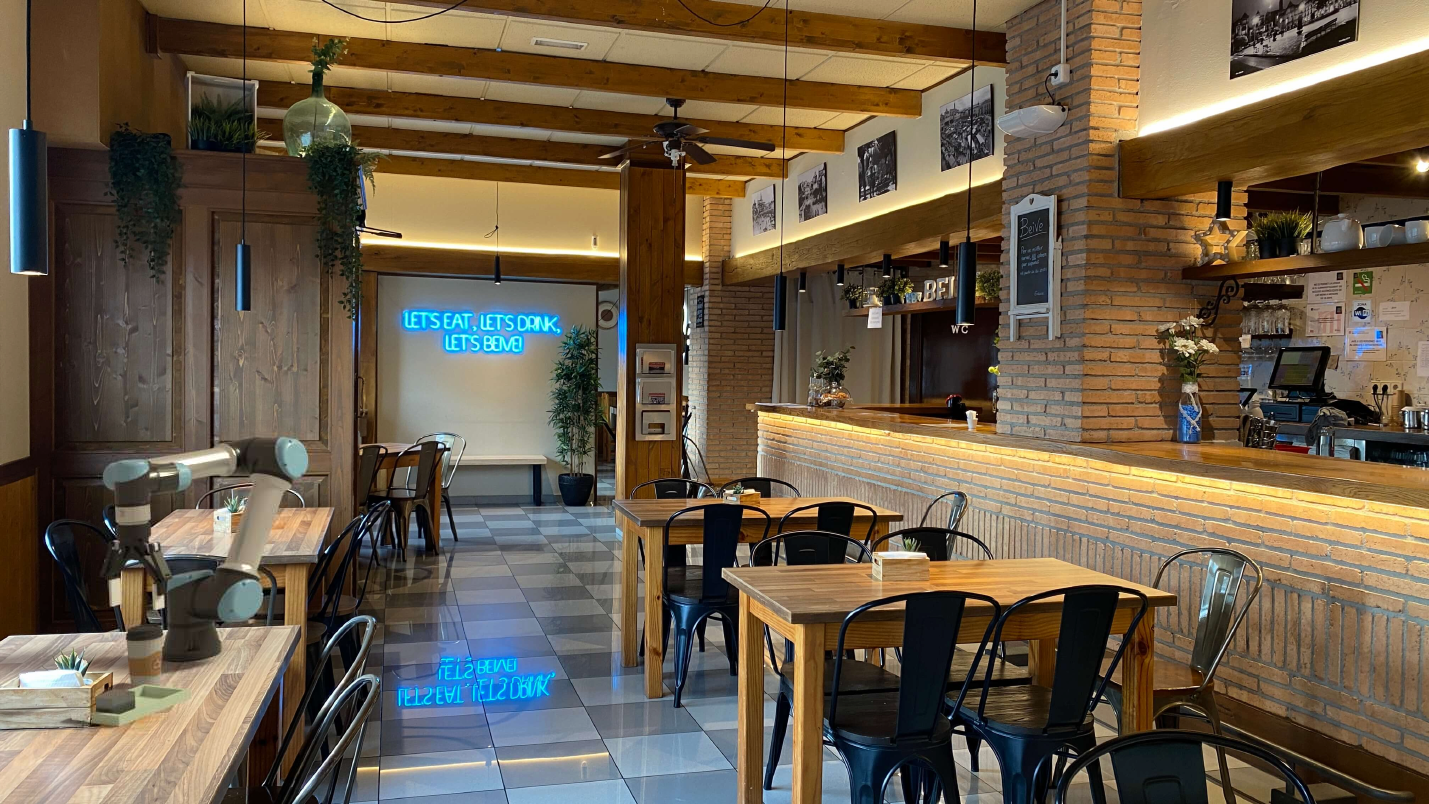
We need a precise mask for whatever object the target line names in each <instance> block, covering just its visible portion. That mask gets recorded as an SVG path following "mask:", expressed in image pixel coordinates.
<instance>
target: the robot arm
mask: <svg viewBox="0 0 1429 804" xmlns="http://www.w3.org/2000/svg"><path fill="white" fill-rule="evenodd" d="M308 455H309V454H308V452H307V450H306V447H305V446H304V444H303V443H302V441H299V439H295V438H293V437H292V438H290V437H286V436H285V437H284V436H283V437H265V436H264V437H262V436H254V437H253V436H252V437H251V436H250V437H245V438H242V439H237V440H236V439H235V440H232V441H228V442H223V443H222V442H221V443H218V444H216V445H214V447H213V448H207V449H202V450H196V451H191V452H183V453H176V454H171V455H165V456H159V457H153V458H146V459H141V458H140V459H124V460H118V461H117V462H116V461H115V462H112V463H109V464H108V465H107V466H106V467H105V469H104V470H103V474H102V479H103V481H102V482H103V484H104V485H105V487H107V489H109V490H111V491H113V492H114V509H115V522H116V523H117V524H116V526H115V533H116V534H115V535H116V536H115V537H116V540H110V541H109V542H108V547H107V548H108V550H107V552H106V555H105V558H104V560H103V561H104V562H103V564H102V567H101V570H100V572H99V577H100V578H105V580H107V591H108V593H109V595H108V596H109V607H116V606H118V605H119V606H120V605H122V587H121V586H122V585H121V583H122V582H121V577H120V574H121V572H122V571H123V569H124V567H125V566H126V564H127V562H128V561H130V560H132V561H138V562H139V563H140V564H142V566H143V567H144V568H145V570H146V571H147V573H148V574H149V576H150V577H151V579H152V580H153V583H151V587H152V588H151V590H152V591H151V592H152V594H151V595H152V610H153V611H158V610H161V609H164V608H165V595H166V607H167V608H166V609H167V610H166V611H167V631H166V635H165V638H164V642H163V645H162V660H164V661H168V662H188V661H189V662H190V661H197V660H203V659H207V658H211V657H214V656H217V655H219V654H220V653H222V649H223V648H222V647H223V645H222V641H221V639H220V637H219V634H218V630H217V628H216V625H215V621H219V622H220V621H221V622H226V623H240V622H241V623H242V622H245V621H247V620H249V619H250V618H252V617H253V616H255V615H256V613H258V611H259V609H260V607H261V606H262V603H263V598H264V593H263V587H262V585H261V583H260V580H261V576H260V575H259V573H258V568H259V566H260V563H261V560H262V557H263V553H264V550H265V548H266V545H267V542H268V539H269V536H270V534H271V530H272V527H273V525H274V521H275V518H276V516H277V513H278V510H279V506H280V504H281V501H282V498H283V495H284V492H286V491H288V490H290V489H291V488H292V487H293V483H294V481H295V479H296V480H297V479H299V478H301V477H302V476H304V475H305V473H306V472H307V470H308V467H309V456H308ZM216 475H219V476H220V477H229V476H244V477H245V476H246V477H247V476H248V477H249V478H250V480H251V481H252V487H251V489H250V491H249V494H248V498H247V500H246V502H245V505H244V508H243V511H242V512H241V513H242V514H241V517H240V519H239V522H238V525H237V527H236V531H235V534H234V537H233V539H232V540H231V545H230V548H229V549H228V553H227V556H226V559H225V560H224V563H222V564H221V565H218V566H217V567H216V569H215V572H214V571H213V570H212V569H201V570H193V571H188V572H184V573H179V574H175V575H172V572H171V570H170V568H169V565H168V564H167V561H166V559H165V556H164V554H163V552H162V547H161V543H160V542H159V541H156V542H152V543H151V542H150V541H149V539H150V537H151V536H152V523H151V522H150V520H151V518H152V517H151V497H152V496H155V495H160V494H161V495H162V494H168V493H178V492H180V491H183V490H186V489H188V487H189V486H190V485H191V483H192V480H195V479H199V478H205V477H206V478H207V477H210V476H216ZM166 582H167V583H166ZM166 585H167V587H166Z"/></svg>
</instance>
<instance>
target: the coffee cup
mask: <svg viewBox="0 0 1429 804" xmlns="http://www.w3.org/2000/svg"><path fill="white" fill-rule="evenodd" d="M163 631H164V630H163V628H162V625H160V624H157V623H156V624H155V623H149V624H139V625H134V626H131V627H129V628H128V629H127V632H126V634H125V640H126V648H127V649H126V650H127V661H128V662H127V663H128V671H129V677H130V678H129V680H130V686H131V687H132V688H135V687H138V686H141V685H144V684H147V685H156V686H160V683H161V675H162V673H161V672H162V663H163V661H162V660H163V659H162V647H163V636H164V632H163Z"/></svg>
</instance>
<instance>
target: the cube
mask: <svg viewBox="0 0 1429 804" xmlns="http://www.w3.org/2000/svg"><path fill="white" fill-rule="evenodd" d="M127 690H128V689H127ZM127 690H126V689H117V688H114V689H111V690H108V691H106V692H103V693H100V694H97V695H98V696H97V697H95V702H96V712H102V713H110V714H118V715H120V714H122V713H125V712H128V711H130V710H133V709H135V691H127Z"/></svg>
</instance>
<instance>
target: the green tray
mask: <svg viewBox="0 0 1429 804" xmlns="http://www.w3.org/2000/svg"><path fill="white" fill-rule="evenodd" d="M127 691H135V709H133V710H130V711H128V712H125V713H122V714H120V715H118V714H110V713H102V712H92V713H91V715H92V716H91V718H92V720H91V723H90V724H94V725H95V724H97V725H105V726H111V727H112V726H113V727H119V728H120V727H122V726H124V725H127V724H129V723H132V722H135V721H137V720H139V719H143V718H145V717H147V716H150V715H152V714H155V713H158V712H160V711H162V710H165V709H168V708H171V707H173V706H175V705H178V704H180V703H183V702H185V701H188V700H191V689H190V688H183V687H174V686H173V687H172V686H165V685H164V686H163V685H159V686H156V685H147V684H144V685H141V686H138V687H135V688H134V687H132V688H129V689H127Z"/></svg>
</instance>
